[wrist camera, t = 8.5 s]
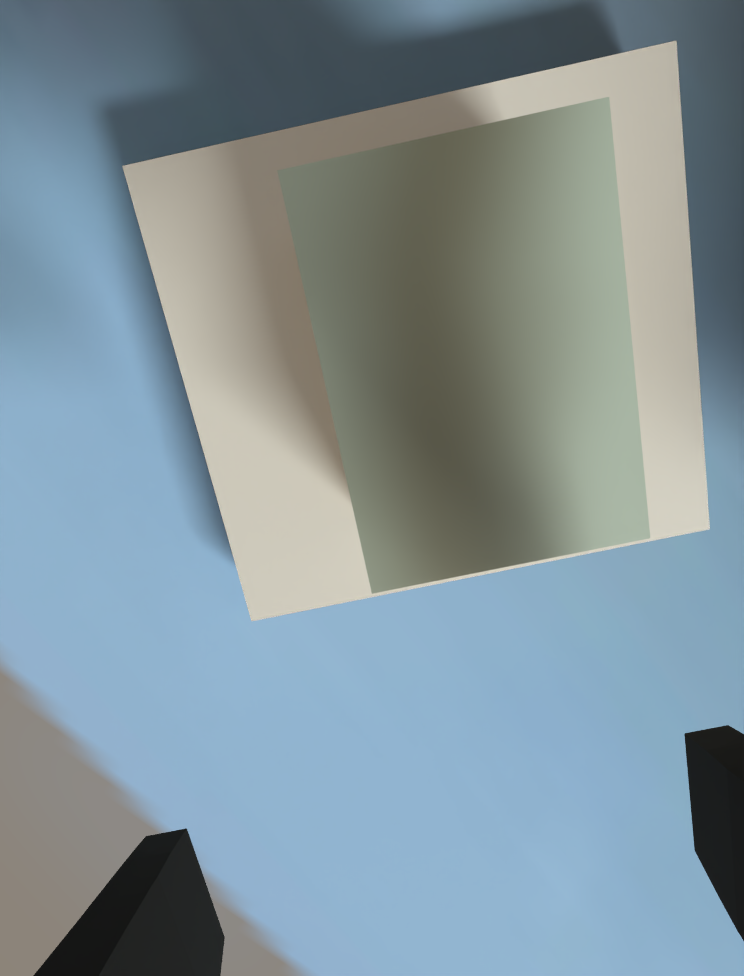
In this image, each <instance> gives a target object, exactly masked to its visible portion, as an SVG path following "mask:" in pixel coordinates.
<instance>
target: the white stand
mask: <svg viewBox="0 0 744 976" xmlns="http://www.w3.org/2000/svg"><path fill="white" fill-rule="evenodd" d="M605 97H609V100H610V111H611V122H612V133H613V143H614V154H615V165H616V175H617V186H618V197H619V208H620V218H621V229H622V240H623V250H624V261H625V272H626V282H627V293H628V304H629V315H630V325H631V336H632V347H633V357H634V368H635V379H636V390H637V400H638V411H639V422H640V432H641V443H642V454H643V465H644V475H645V486H646V497H647V507H648V518H649V529H650V538H649V539H644V540H639V541H634V542H629V543H624V544H619V545H614V546H609V547H604V548H598V549H593V550H588V551H583V552H578V553H573V554H568V555H563V556H558V557H553V558H548V559H543V560H538V561H533V562H528V563H523V564H518V565H513V566H508V567H503V568H498V569H493V570H488V571H483V572H478V573H473V574H468V575H463V576H458V577H453V578H448V579H443V580H438V581H433V582H428V583H423V584H418V585H413V586H408V587H403V588H398V589H393V590H388V591H383V592H378V593H373V594H372V592H371V587H370V583H369V578H368V574H367V569H366V565H365V560H364V556H363V552H362V547H361V543H360V538H359V534H358V529H357V525H356V520H355V516H354V511H353V507H352V502H351V498H350V493H349V489H348V484H347V480H346V475H345V471H344V467H343V462H342V458H341V453H340V449H339V444H338V440H337V435H336V431H335V426H334V422H333V417H332V413H331V408H330V404H329V399H328V395H327V391H326V386H325V382H324V377H323V373H322V368H321V364H320V359H319V355H318V350H317V346H316V341H315V337H314V332H313V328H312V323H311V319H310V315H309V310H308V306H307V301H306V297H305V292H304V288H303V283H302V279H301V274H300V270H299V265H298V261H297V256H296V252H295V247H294V243H293V238H292V234H291V230H290V225H289V221H288V216H287V212H286V207H285V203H284V198H283V194H282V189H281V185H280V180H279V176H278V171H277V170H281V169H286V168H290V167H295V166H299V165H304V164H308V163H313V162H317V161H322V160H326V159H331V158H335V157H340V156H344V155H349V154H353V153H358V152H362V151H367V150H371V149H376V148H380V147H385V146H389V145H394V144H398V143H403V142H407V141H412V140H416V139H421V138H425V137H430V136H434V135H439V134H443V133H448V132H452V131H457V130H461V129H466V128H470V127H475V126H479V125H484V124H488V123H493V122H497V121H502V120H506V119H511V118H515V117H520V116H524V115H529V114H533V113H538V112H542V111H547V110H551V109H556V108H560V107H565V106H569V105H574V104H578V103H583V102H587V101H592V100H596V99H601V98H605ZM122 167H123V170H124V174H125V177H126V181H127V184H128V188H129V191H130V195H131V198H132V202H133V205H134V209H135V212H136V216H137V220H138V223H139V227H140V230H141V234H142V237H143V241H144V244H145V248H146V251H147V255H148V258H149V262H150V265H151V269H152V272H153V276H154V279H155V283H156V286H157V290H158V293H159V297H160V300H161V304H162V307H163V311H164V315H165V318H166V322H167V325H168V329H169V332H170V336H171V339H172V343H173V346H174V350H175V353H176V357H177V360H178V364H179V367H180V371H181V374H182V378H183V381H184V385H185V388H186V392H187V395H188V399H189V402H190V406H191V410H192V413H193V417H194V420H195V424H196V427H197V431H198V434H199V438H200V441H201V445H202V448H203V452H204V455H205V459H206V462H207V466H208V469H209V473H210V476H211V480H212V483H213V487H214V490H215V494H216V497H217V501H218V505H219V508H220V512H221V515H222V519H223V522H224V526H225V529H226V533H227V536H228V540H229V543H230V547H231V550H232V554H233V557H234V561H235V564H236V568H237V571H238V575H239V578H240V582H241V585H242V589H243V592H244V596H245V600H246V603H247V607H248V610H249V614H250V617H251V621H255V620H260V619H265V618H270V617H275V616H280V615H285V614H290V613H295V612H300V611H305V610H310V609H315V608H320V607H325V606H330V605H335V604H340V603H345V602H350V601H355V600H360V599H365V598H370V597H375V596H380V595H385V594H390V593H395V592H400V591H405V590H410V589H414V588H419V587H424V586H429V585H434V584H439V583H444V582H449V581H454V580H459V579H464V578H469V577H474V576H479V575H484V574H489V573H494V572H499V571H504V570H509V569H514V568H519V567H524V566H529V565H534V564H539V563H544V562H549V561H554V560H559V559H564V558H569V557H574V556H579V555H584V554H589V553H594V552H599V551H604V550H609V549H614V548H619V547H624V546H628V545H633V544H638V543H643V542H648V541H653V540H658V539H663V538H668V537H673V536H678V535H683V534H688V533H693V532H698V531H703V530H708V529H710V526H709V511H708V497H707V482H706V467H705V453H704V438H703V423H702V409H701V394H700V379H699V365H698V350H697V335H696V321H695V306H694V291H693V277H692V262H691V247H690V233H689V218H688V203H687V189H686V174H685V159H684V145H683V130H682V116H681V101H680V86H679V72H678V57H677V42H676V41H672V42H668V43H663V44H659V45H655V46H650V47H646V48H641V49H637V50H633V51H628V52H624V53H619V54H615V55H610V56H606V57H602V58H597V59H593V60H588V61H584V62H579V63H575V64H571V65H566V66H562V67H557V68H553V69H549V70H544V71H540V72H535V73H531V74H526V75H522V76H518V77H513V78H509V79H504V80H500V81H496V82H491V83H487V84H482V85H478V86H473V87H469V88H465V89H460V90H456V91H451V92H447V93H442V94H438V95H434V96H429V97H425V98H420V99H416V100H412V101H407V102H403V103H398V104H394V105H389V106H385V107H381V108H376V109H372V110H367V111H363V112H358V113H354V114H350V115H345V116H341V117H336V118H332V119H328V120H323V121H319V122H314V123H310V124H305V125H301V126H297V127H292V128H288V129H283V130H279V131H275V132H270V133H266V134H261V135H257V136H252V137H248V138H244V139H239V140H235V141H230V142H226V143H221V144H217V145H213V146H208V147H204V148H199V149H195V150H191V151H186V152H182V153H177V154H173V155H168V156H164V157H160V158H155V159H151V160H146V161H142V162H137V163H133V164H129V165H124V166H122Z"/></svg>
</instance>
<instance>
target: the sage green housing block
mask: <svg viewBox="0 0 744 976" xmlns="http://www.w3.org/2000/svg"><path fill="white" fill-rule="evenodd" d="M277 171H278V176H279V180H280V185H281V189H282V194H283V198H284V203H285V207H286V212H287V216H288V221H289V225H290V230H291V234H292V238H293V243H294V247H295V252H296V256H297V261H298V265H299V270H300V274H301V279H302V283H303V288H304V292H305V297H306V301H307V306H308V310H309V315H310V319H311V323H312V328H313V332H314V337H315V341H316V346H317V350H318V355H319V359H320V364H321V368H322V373H323V377H324V382H325V386H326V391H327V395H328V399H329V404H330V408H331V413H332V417H333V422H334V426H335V431H336V435H337V440H338V444H339V449H340V453H341V458H342V462H343V467H344V471H345V475H346V480H347V484H348V489H349V493H350V498H351V502H352V507H353V511H354V516H355V520H356V525H357V529H358V534H359V538H360V543H361V547H362V552H363V556H364V560H365V565H366V569H367V574H368V578H369V583H370V587H371V592H372V594H373V593H378V592H383V591H388V590H393V589H398V588H403V587H408V586H413V585H418V584H423V583H428V582H433V581H438V580H443V579H448V578H453V577H458V576H463V575H468V574H473V573H478V572H483V571H488V570H493V569H498V568H503V567H508V566H513V565H518V564H523V563H528V562H533V561H538V560H543V559H548V558H553V557H558V556H563V555H568V554H573V553H578V552H583V551H588V550H593V549H598V548H604V547H609V546H614V545H619V544H624V543H629V542H634V541H639V540H644V539H649V538H650V529H649V518H648V507H647V497H646V486H645V475H644V465H643V454H642V443H641V432H640V422H639V411H638V400H637V390H636V379H635V368H634V357H633V347H632V336H631V325H630V315H629V304H628V293H627V282H626V272H625V261H624V250H623V240H622V229H621V218H620V208H619V197H618V186H617V175H616V165H615V154H614V143H613V133H612V122H611V111H610V100H609V97H605V98H601V99H596V100H592V101H587V102H583V103H578V104H574V105H569V106H565V107H560V108H556V109H551V110H547V111H542V112H538V113H533V114H529V115H524V116H520V117H515V118H511V119H506V120H502V121H497V122H493V123H488V124H484V125H479V126H475V127H470V128H466V129H461V130H457V131H452V132H448V133H443V134H439V135H434V136H430V137H425V138H421V139H416V140H412V141H407V142H403V143H398V144H394V145H389V146H385V147H380V148H376V149H371V150H367V151H362V152H358V153H353V154H349V155H344V156H340V157H335V158H331V159H326V160H322V161H317V162H313V163H308V164H304V165H299V166H295V167H290V168H286V169H281V170H277Z"/></svg>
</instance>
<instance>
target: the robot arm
mask: <svg viewBox="0 0 744 976" xmlns="http://www.w3.org/2000/svg"><path fill="white" fill-rule="evenodd" d="M685 744H686V756H687V767H688V778H689V790H690V801H691V813H692V824H693V836H694V847H695V852H696V854H697V856H698V858H699V859H700V861H701V863H702V865H703V867H704V869H705V871H706V873H707V875H708V877H709V879H710V881H711V883H712V884H713V886H714V888H715V890H716V892H717V894H718V896H719V898H720V900H721V901H722V903H723V905H724V907H725V909H726V911H727V912H728V914H729V916H730V918H731V920H732V922H733V923H734V925H735V927H736V929H737V931H738V932H739V934H740V935H741V937H742V939H743V940H744V734H742V733H741V732H739V731H737V730H735V729H734V728H732V727H730V726H728V725H727V726H722V727H716V728H711V729H706V730H701V731H695V732H690V733H685ZM223 946H224V935H223V932H222V929H221V926H220V923H219V920H218V917H217V914H216V911H215V909H214V906H213V903H212V900H211V897H210V894H209V891H208V888H207V886H206V883H205V880H204V877H203V874H202V871H201V868H200V865H199V863H198V860H197V857H196V854H195V851H194V848H193V845H192V842H191V840H190V837H189V834H188V831H187V829H182V830H177V831H171V832H166V833H161V834H156V835H150V836H146V837H145V838H144V839H143V841H142V842H141V843H140V844H139V845H138V846H137V848H136V849H135V850H134V851H133V852H132V854H131V855H130V856H129V857H128V859H127V860H126V861H125V862H124V863H123V865H122V866H121V867H120V868H119V870H118V871H117V872H116V874H115V875H114V876H113V877H112V878H111V880H110V881H109V882H108V884H107V885H106V886H105V887H104V889H103V890H102V891H101V893H100V894H99V895H98V896H97V897H96V899H95V900H94V901H93V902H92V904H91V905H90V906H89V907H88V909H87V910H86V911H85V913H84V914H83V915H82V916H81V918H80V919H79V920H78V921H77V923H76V924H75V925H74V926H73V928H72V929H71V930H70V931H69V933H68V934H67V935H66V936H65V938H64V939H63V940H62V941H61V942H60V944H59V945H58V946H57V947H56V949H55V950H54V951H53V952H52V954H51V955H50V956H49V957H48V959H47V960H46V961H45V962H44V964H43V965H42V966H41V967H40V968H39V970H38V971H37V972H36V973H35V975H34V976H220V973H221V963H222V955H223Z"/></svg>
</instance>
